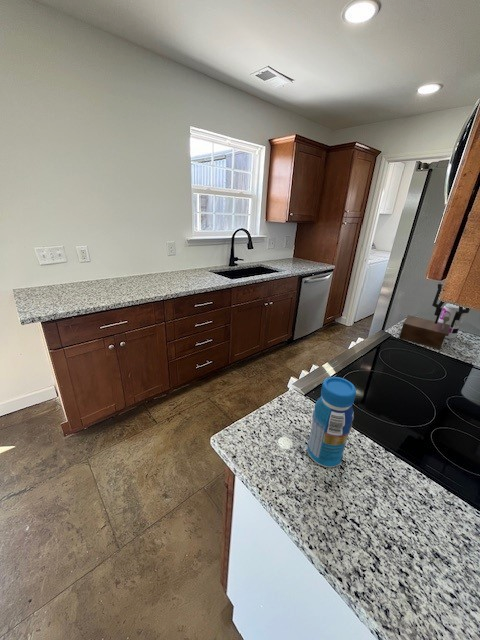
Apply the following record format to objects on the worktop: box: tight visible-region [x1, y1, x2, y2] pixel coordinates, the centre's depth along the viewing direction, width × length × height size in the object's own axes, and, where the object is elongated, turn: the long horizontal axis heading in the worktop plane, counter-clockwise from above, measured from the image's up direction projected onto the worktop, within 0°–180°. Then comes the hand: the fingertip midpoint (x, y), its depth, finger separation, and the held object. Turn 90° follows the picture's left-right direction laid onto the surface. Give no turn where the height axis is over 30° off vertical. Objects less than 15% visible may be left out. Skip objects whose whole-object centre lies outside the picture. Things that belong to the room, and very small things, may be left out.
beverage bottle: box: [306, 376, 357, 468], centre depth 59 cm, size 8×8×20 cm
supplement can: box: [438, 302, 466, 340], centre depth 122 cm, size 8×8×15 cm
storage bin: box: [398, 324, 446, 351], centre depth 119 cm, size 16×13×7 cm
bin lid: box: [402, 313, 450, 336], centre depth 116 cm, size 16×13×7 cm
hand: (443, 324), depth 113 cm, fingers open, 5 cm apart
